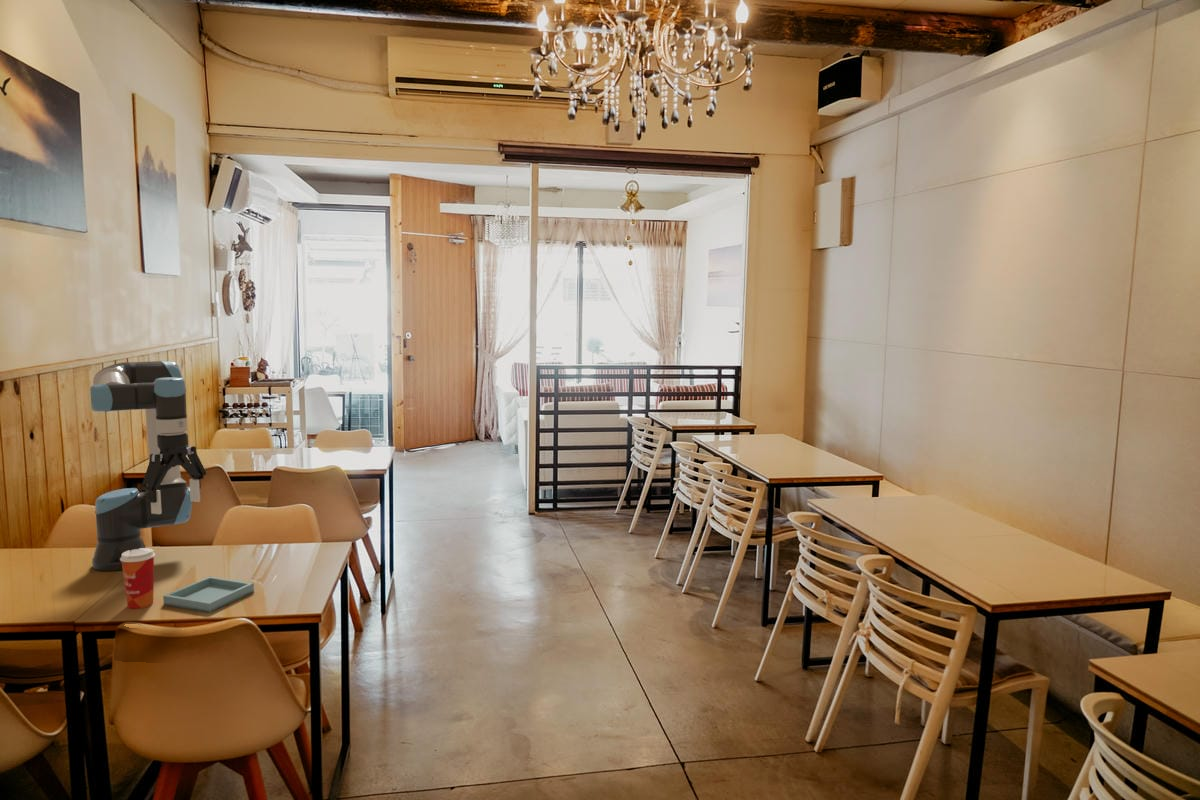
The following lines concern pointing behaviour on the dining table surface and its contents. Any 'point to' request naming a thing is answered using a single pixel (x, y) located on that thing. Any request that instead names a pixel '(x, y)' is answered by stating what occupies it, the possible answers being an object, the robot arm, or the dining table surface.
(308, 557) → the dining table surface
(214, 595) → the tray
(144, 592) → the coffee cup
